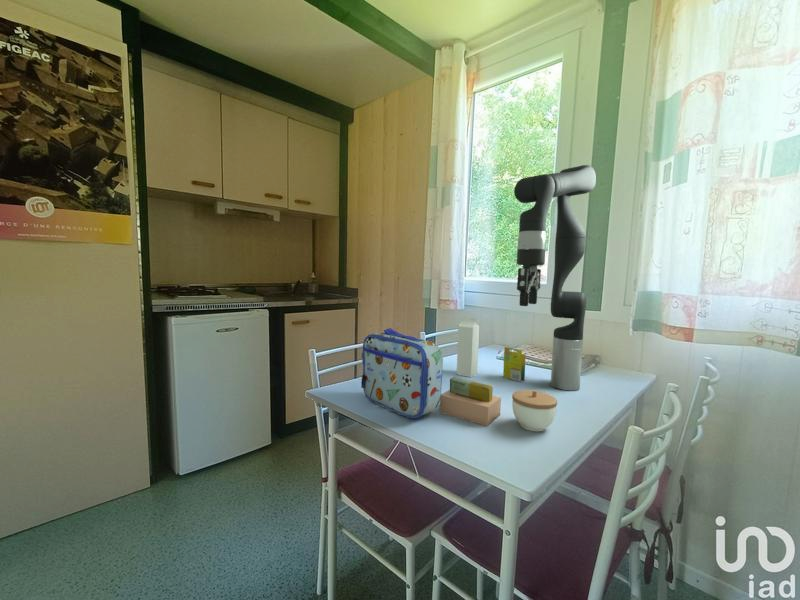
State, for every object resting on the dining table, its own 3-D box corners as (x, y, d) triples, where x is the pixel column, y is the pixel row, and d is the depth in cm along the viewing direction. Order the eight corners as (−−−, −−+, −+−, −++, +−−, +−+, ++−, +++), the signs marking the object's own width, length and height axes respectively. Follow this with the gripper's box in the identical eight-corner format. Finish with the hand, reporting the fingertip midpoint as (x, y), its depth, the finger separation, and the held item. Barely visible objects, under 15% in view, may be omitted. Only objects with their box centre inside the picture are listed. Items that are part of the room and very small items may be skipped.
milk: (463, 371, 139) (465, 316, 137) (477, 374, 135) (479, 317, 134) (456, 374, 134) (458, 317, 132) (471, 377, 130) (473, 319, 129)
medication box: (448, 392, 100) (449, 378, 99) (453, 389, 102) (453, 376, 101) (488, 402, 92) (489, 388, 92) (493, 399, 95) (493, 385, 94)
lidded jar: (503, 425, 90) (505, 390, 90) (522, 414, 98) (524, 381, 97) (544, 440, 83) (546, 401, 82) (562, 426, 90) (564, 391, 89)
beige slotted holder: (454, 402, 105) (455, 386, 105) (500, 414, 97) (501, 397, 96) (439, 412, 98) (440, 394, 97) (487, 426, 90) (488, 407, 89)
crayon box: (524, 380, 128) (526, 349, 127) (520, 382, 126) (522, 350, 125) (507, 375, 134) (508, 345, 133) (502, 377, 132) (504, 346, 131)
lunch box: (353, 398, 107) (354, 327, 106) (379, 390, 115) (380, 323, 113) (420, 428, 88) (422, 341, 86) (445, 416, 95) (448, 336, 93)
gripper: (525, 250, 108) (522, 302, 109) (509, 246, 96) (506, 305, 97) (551, 249, 103) (548, 304, 105) (538, 246, 92) (534, 307, 93)
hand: (528, 304), depth 101 cm, fingers open, 8 cm apart
